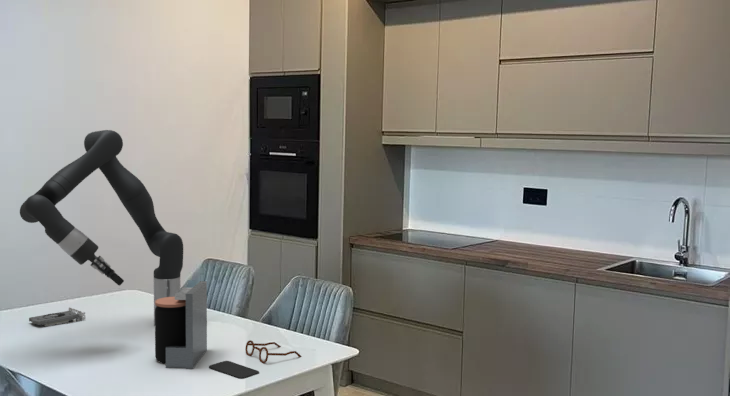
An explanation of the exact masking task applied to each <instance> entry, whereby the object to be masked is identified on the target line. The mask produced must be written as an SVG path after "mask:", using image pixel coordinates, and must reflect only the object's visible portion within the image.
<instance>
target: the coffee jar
mask: <svg viewBox="0 0 730 396" xmlns="http://www.w3.org/2000/svg"><path fill="white" fill-rule="evenodd" d="M155 305H156V306H157V307H156V308H155V326H154V345H155V346H154V347H155V348H154V352H155V353H154V357H155V359H156V360H157V362H158V363H161V364H165V365H166V347H167V346H186V300H175V297H164V298H160V299H157V300H156V301H155Z"/></svg>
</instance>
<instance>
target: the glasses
mask: <svg viewBox="0 0 730 396" xmlns="http://www.w3.org/2000/svg"><path fill="white" fill-rule="evenodd" d="M270 345H275V346H276V347H278V348H282V346H281V345H279V344H278V343H276V342H275V341H272V342H271V341H270V342H267V343H255V342H254V341H253V340H250V339H249V340H248V341H247V342H246V343H245V354H246V356H249V357H252V356H253V355H254V352H255V350H257V351H258V352H259V353H258V359H259V362H260V363H262V364H267V362H268V359H269V356H283V357H284V356H288V355H291V354H295V355H297V357H299V358H301V357H302V355H301V354H300V353H299V352H297V350H293V351H292V350H291V351H289V352H285V353H282V352H281V353H280V352H269V350H268V348H267V347H266V346H270ZM249 346H252V349H251V352H250V353H249V352H248V347H249ZM259 346H260V347H261V348H260V347H259ZM263 350H265V353H266V354H265V359H264V360H263V359H262V351H263Z"/></svg>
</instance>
